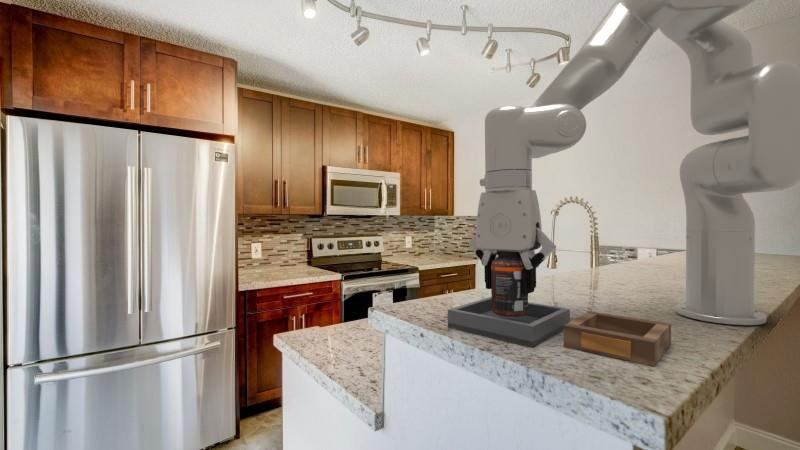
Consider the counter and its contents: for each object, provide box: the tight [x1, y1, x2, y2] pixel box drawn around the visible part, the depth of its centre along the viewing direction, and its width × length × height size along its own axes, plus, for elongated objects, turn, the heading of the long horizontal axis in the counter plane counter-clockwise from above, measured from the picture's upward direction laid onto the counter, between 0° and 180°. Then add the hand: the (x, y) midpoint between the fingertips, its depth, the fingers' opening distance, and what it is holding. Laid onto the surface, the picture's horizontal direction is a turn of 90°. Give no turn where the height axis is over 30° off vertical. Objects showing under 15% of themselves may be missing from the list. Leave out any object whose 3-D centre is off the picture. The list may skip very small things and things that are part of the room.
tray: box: [447, 296, 571, 348], centre depth 64 cm, size 14×15×3 cm
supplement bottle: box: [490, 251, 529, 317], centre depth 64 cm, size 6×6×11 cm
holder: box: [563, 310, 672, 367], centre depth 55 cm, size 11×11×3 cm
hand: (509, 289), depth 64 cm, fingers closed on supplement bottle, 5 cm apart
